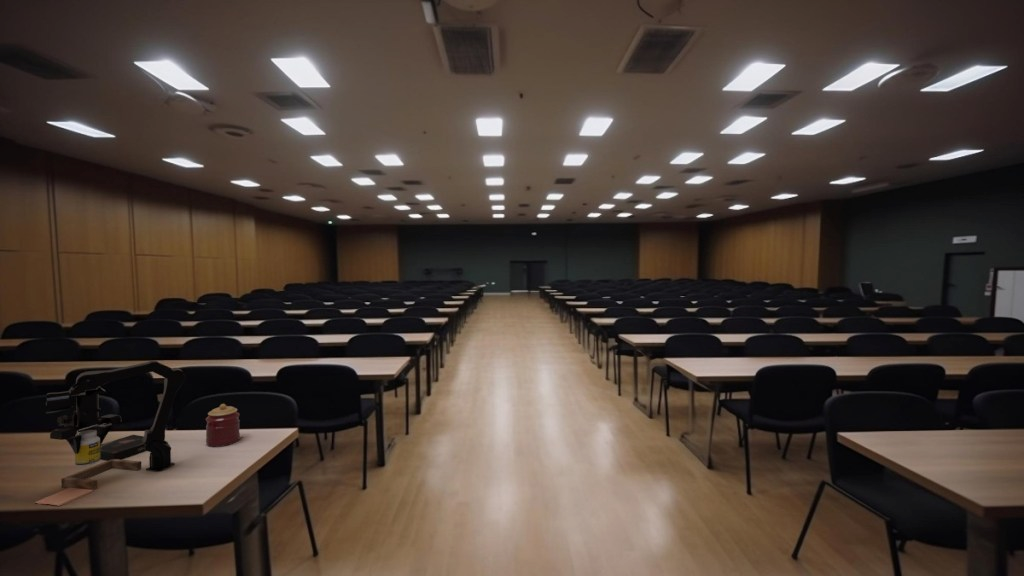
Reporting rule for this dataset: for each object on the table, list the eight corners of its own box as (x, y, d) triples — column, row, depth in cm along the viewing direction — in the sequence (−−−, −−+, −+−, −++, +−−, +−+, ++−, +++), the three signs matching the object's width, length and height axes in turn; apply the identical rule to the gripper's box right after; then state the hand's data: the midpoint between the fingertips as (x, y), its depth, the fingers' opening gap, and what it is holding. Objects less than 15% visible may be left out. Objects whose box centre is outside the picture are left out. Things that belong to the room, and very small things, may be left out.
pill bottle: (83, 468, 150) (83, 436, 149) (70, 466, 151) (69, 434, 151) (105, 460, 156) (104, 429, 156) (92, 458, 157) (91, 427, 157)
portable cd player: (132, 442, 194) (132, 434, 193) (158, 447, 188) (158, 439, 188) (87, 457, 178) (87, 448, 178) (114, 463, 173) (113, 453, 173)
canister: (246, 437, 201) (246, 400, 200) (225, 448, 188) (225, 409, 187) (221, 435, 202) (220, 399, 201) (198, 446, 189) (198, 407, 188)
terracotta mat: (93, 491, 150) (93, 490, 150) (59, 506, 140) (59, 505, 140) (70, 488, 151) (70, 487, 151) (34, 503, 141) (34, 502, 141)
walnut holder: (141, 468, 167) (141, 461, 167) (92, 490, 150) (92, 482, 150) (112, 466, 169) (112, 458, 169) (61, 487, 152) (61, 478, 152)
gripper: (98, 398, 164) (99, 438, 164) (37, 413, 145) (37, 458, 146) (122, 400, 162) (122, 440, 162) (63, 415, 143) (63, 461, 144)
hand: (87, 449), depth 153 cm, fingers closed on pill bottle, 6 cm apart
